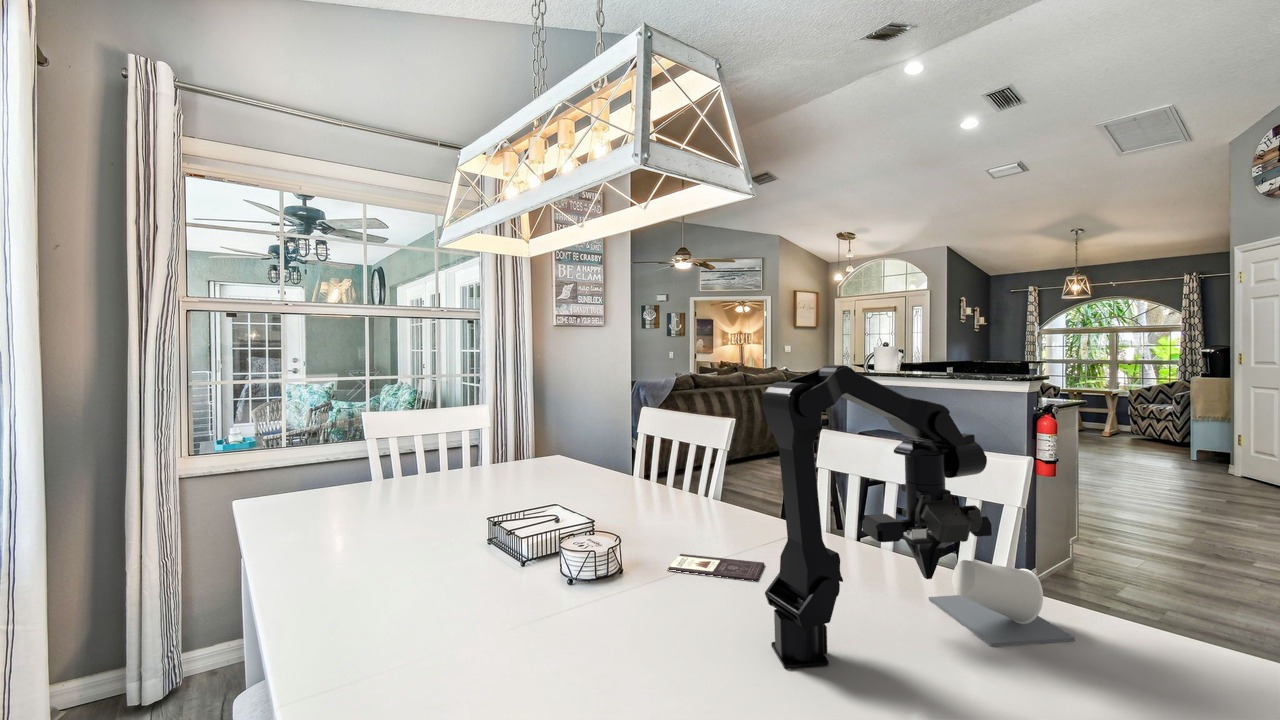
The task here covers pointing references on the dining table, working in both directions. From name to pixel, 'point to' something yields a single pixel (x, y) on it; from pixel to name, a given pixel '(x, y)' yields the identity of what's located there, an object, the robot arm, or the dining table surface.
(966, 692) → the dining table surface
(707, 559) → the chocolate bar
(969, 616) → the mat
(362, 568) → the dining table surface
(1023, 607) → the dixie cup
